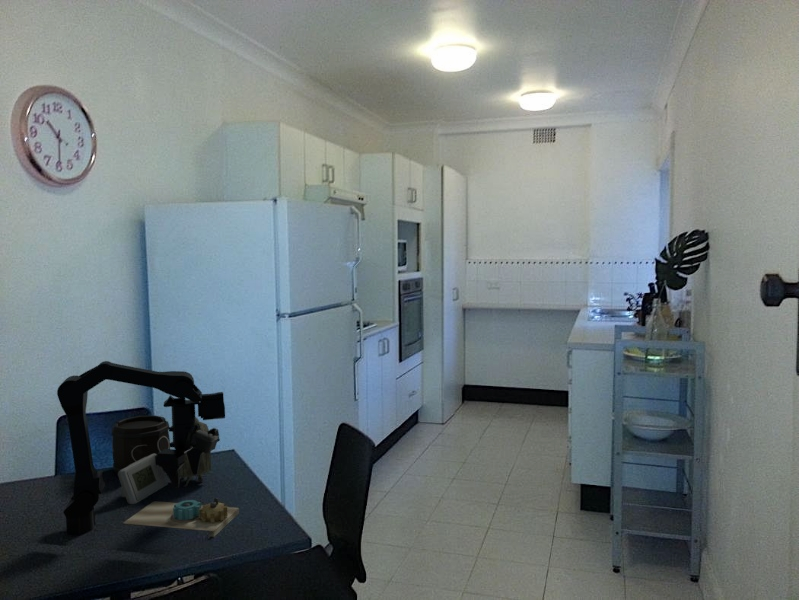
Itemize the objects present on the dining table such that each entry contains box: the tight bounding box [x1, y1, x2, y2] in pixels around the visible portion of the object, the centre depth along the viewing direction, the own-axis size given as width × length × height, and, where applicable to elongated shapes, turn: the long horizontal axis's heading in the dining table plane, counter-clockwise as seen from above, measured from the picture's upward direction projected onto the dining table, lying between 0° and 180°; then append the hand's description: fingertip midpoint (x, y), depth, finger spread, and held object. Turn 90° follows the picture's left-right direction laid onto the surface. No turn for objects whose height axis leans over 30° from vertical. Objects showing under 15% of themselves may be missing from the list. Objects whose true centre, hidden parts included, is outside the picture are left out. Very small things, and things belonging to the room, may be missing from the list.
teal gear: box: [173, 499, 202, 520], centre depth 166 cm, size 7×7×3 cm
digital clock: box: [117, 453, 169, 505], centre depth 182 cm, size 16×9×11 cm, turn 154°
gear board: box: [122, 497, 240, 538], centre depth 166 cm, size 14×25×6 cm, turn 79°
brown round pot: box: [110, 415, 171, 477], centre depth 204 cm, size 18×18×16 cm
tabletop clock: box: [180, 416, 212, 487], centre depth 192 cm, size 14×9×25 cm, turn 23°
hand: (186, 480), depth 165 cm, fingers open, 9 cm apart
